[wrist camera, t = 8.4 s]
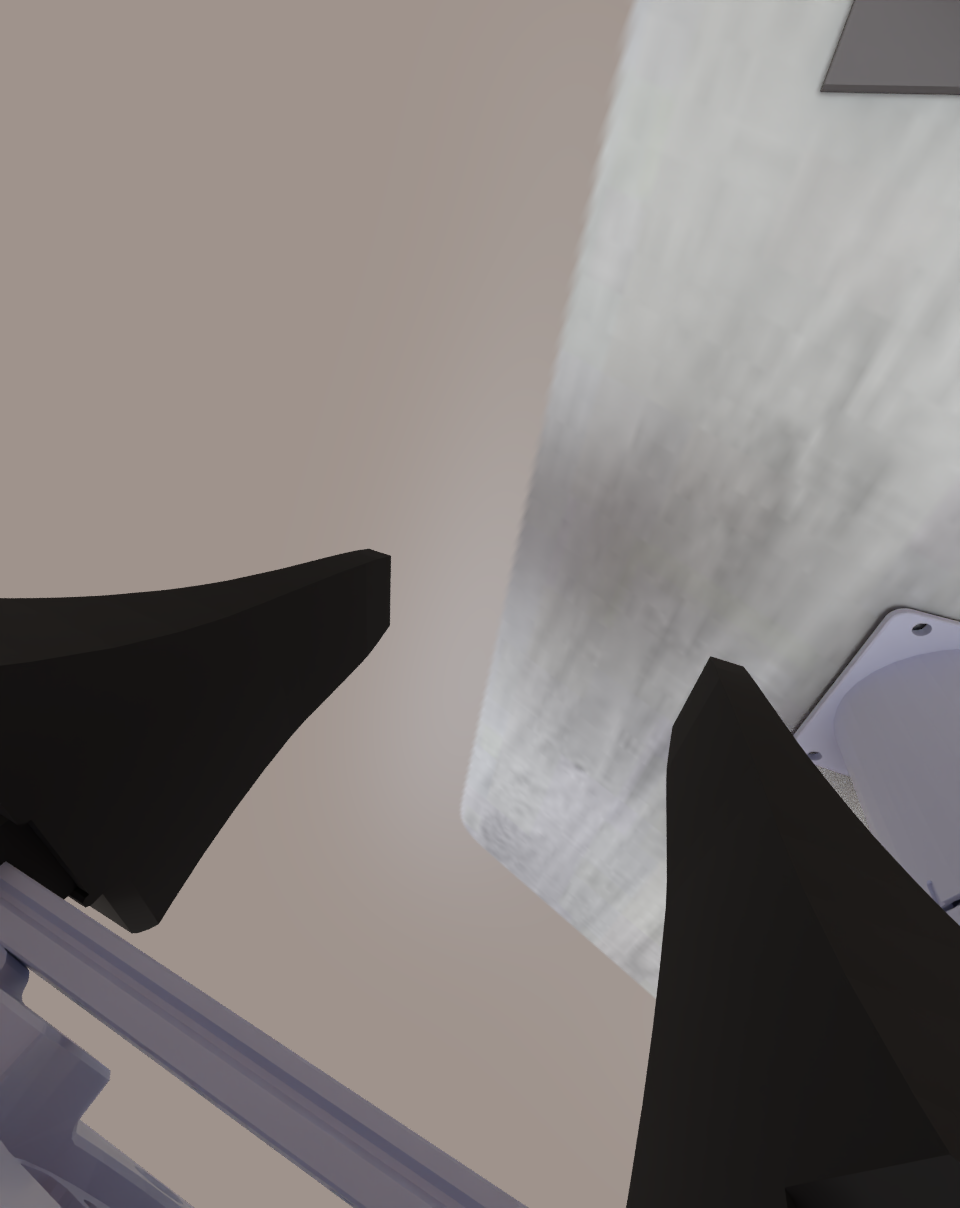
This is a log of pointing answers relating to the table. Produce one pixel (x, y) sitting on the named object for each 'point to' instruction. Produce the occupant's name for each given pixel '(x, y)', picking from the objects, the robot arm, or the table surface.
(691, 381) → the table surface
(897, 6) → the mat
